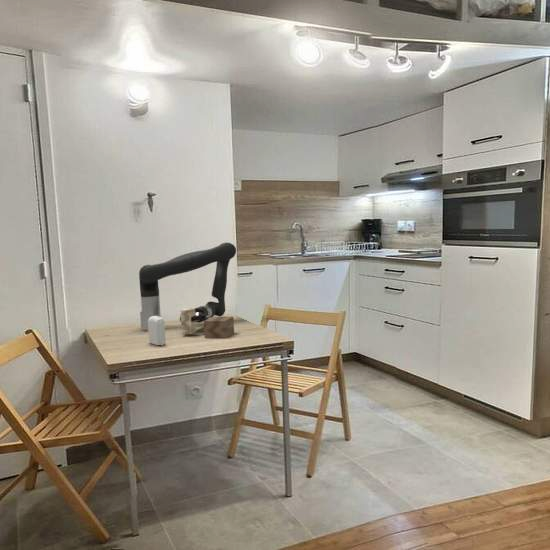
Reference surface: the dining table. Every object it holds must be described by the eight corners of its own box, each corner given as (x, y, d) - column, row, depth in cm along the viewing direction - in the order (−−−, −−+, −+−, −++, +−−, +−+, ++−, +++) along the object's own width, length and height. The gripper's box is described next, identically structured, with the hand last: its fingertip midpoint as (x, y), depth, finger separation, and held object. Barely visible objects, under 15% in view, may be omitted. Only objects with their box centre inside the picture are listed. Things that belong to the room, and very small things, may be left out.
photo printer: (147, 343, 207) (146, 315, 206) (156, 341, 210) (155, 314, 209) (158, 346, 199) (156, 317, 198) (167, 344, 202) (165, 316, 201)
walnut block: (204, 338, 213) (203, 321, 213) (214, 333, 225) (213, 316, 224) (225, 338, 211) (224, 321, 210) (234, 333, 222) (233, 316, 222)
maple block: (181, 333, 219) (180, 310, 218) (186, 331, 224) (185, 308, 223) (191, 333, 218) (190, 310, 217) (196, 331, 223) (195, 308, 222)
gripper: (188, 306, 236) (172, 311, 220) (214, 306, 232) (199, 311, 216) (189, 320, 237) (172, 327, 221) (215, 321, 233) (200, 327, 216)
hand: (186, 319), depth 218 cm, fingers closed on maple block, 5 cm apart
